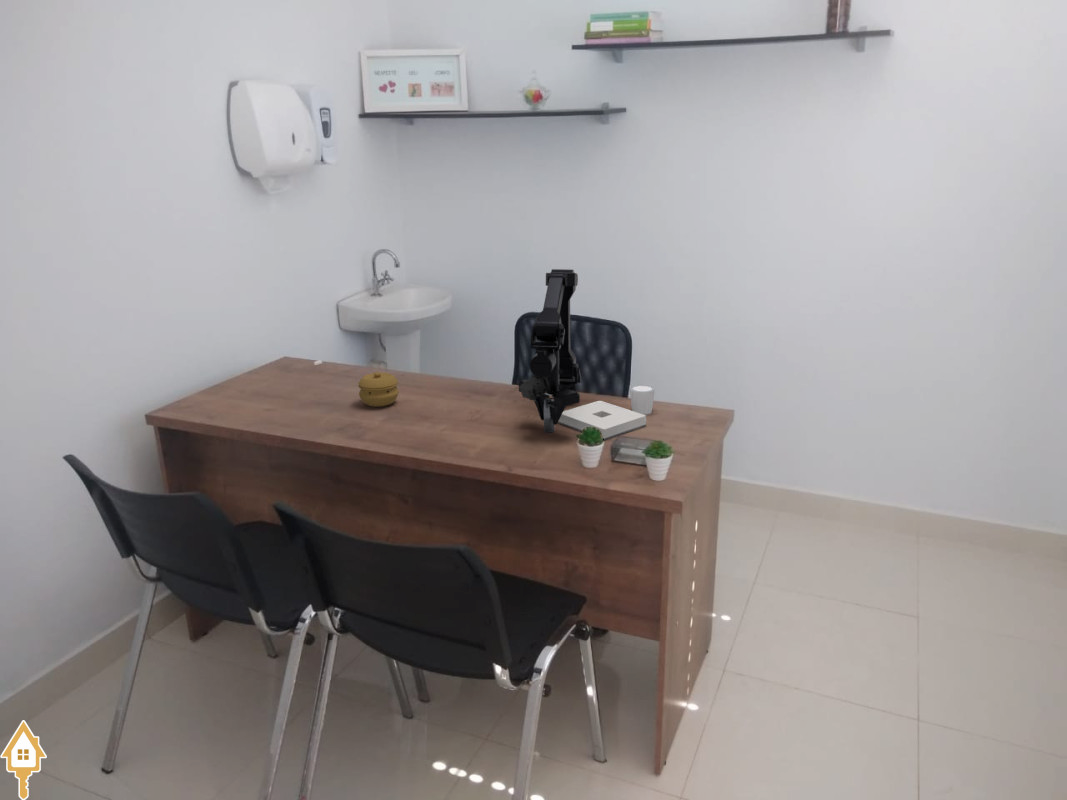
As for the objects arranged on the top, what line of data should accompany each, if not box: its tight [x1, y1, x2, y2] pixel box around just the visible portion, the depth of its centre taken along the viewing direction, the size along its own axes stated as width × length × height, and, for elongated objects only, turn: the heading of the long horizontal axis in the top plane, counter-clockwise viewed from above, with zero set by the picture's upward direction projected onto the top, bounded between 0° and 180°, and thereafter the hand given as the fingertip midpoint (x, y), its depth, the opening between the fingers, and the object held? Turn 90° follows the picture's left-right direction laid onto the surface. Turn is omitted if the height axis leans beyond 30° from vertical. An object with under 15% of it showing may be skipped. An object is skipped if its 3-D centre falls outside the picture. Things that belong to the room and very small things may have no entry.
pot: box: [357, 371, 400, 408], centre depth 246 cm, size 12×12×10 cm
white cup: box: [629, 384, 656, 416], centre depth 235 cm, size 7×7×7 cm
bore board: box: [557, 400, 647, 441], centre depth 226 cm, size 18×16×3 cm
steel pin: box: [543, 397, 555, 434], centre depth 221 cm, size 3×3×9 cm
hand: (549, 422), depth 222 cm, fingers open, 5 cm apart
